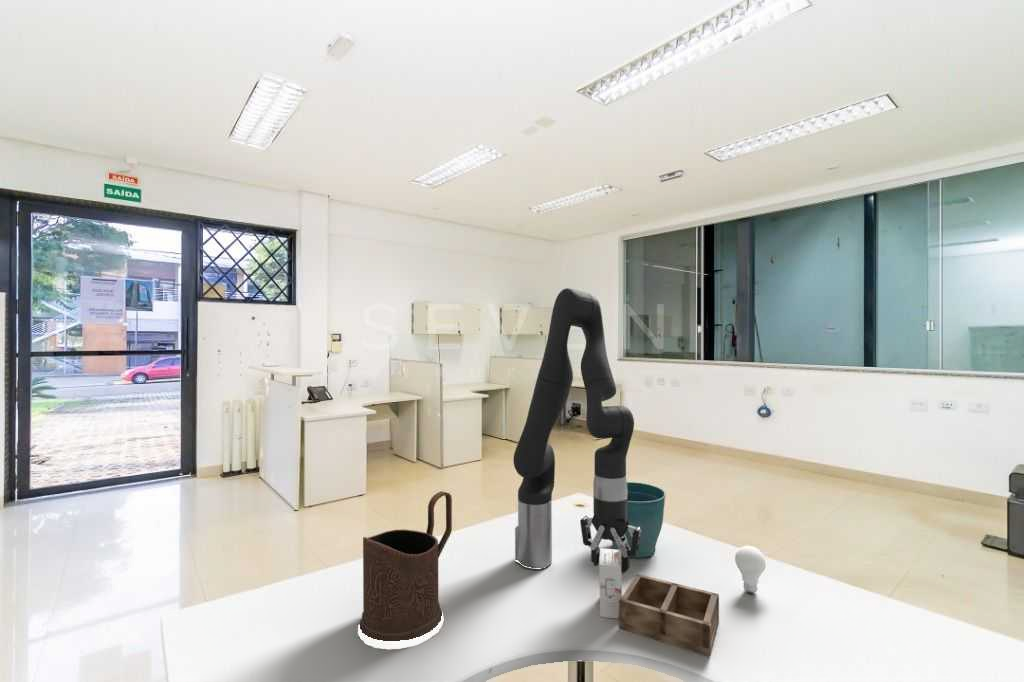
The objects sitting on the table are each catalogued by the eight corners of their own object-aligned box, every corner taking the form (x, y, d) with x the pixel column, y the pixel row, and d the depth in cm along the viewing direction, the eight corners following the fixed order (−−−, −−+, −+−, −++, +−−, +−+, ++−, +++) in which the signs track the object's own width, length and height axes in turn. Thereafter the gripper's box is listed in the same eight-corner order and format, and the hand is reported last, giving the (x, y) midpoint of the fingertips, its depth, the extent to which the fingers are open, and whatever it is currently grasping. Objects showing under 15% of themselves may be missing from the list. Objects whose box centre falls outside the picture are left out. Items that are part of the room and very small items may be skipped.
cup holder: (338, 627, 101) (337, 510, 101) (423, 581, 120) (423, 482, 120) (395, 663, 90) (394, 531, 90) (479, 606, 109) (478, 497, 109)
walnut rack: (618, 628, 100) (618, 600, 100) (635, 598, 112) (635, 573, 112) (710, 657, 91) (710, 625, 91) (718, 621, 102) (718, 594, 102)
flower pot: (600, 560, 131) (599, 499, 131) (602, 534, 148) (602, 479, 148) (668, 567, 127) (668, 503, 127) (662, 539, 144) (662, 483, 144)
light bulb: (763, 588, 116) (763, 543, 116) (768, 602, 110) (768, 554, 110) (733, 583, 118) (733, 539, 118) (736, 597, 112) (736, 550, 112)
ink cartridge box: (599, 596, 113) (599, 534, 113) (621, 598, 112) (620, 536, 112) (598, 617, 104) (598, 550, 104) (622, 620, 103) (621, 552, 103)
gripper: (574, 493, 108) (574, 567, 108) (637, 504, 101) (637, 583, 101) (586, 485, 115) (586, 554, 115) (646, 494, 107) (646, 569, 108)
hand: (610, 567), depth 108 cm, fingers closed on ink cartridge box, 6 cm apart
